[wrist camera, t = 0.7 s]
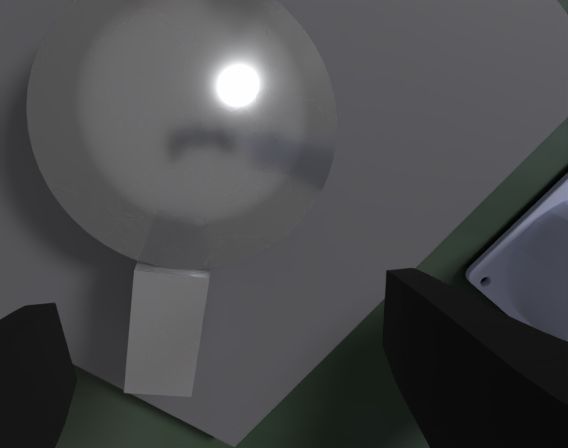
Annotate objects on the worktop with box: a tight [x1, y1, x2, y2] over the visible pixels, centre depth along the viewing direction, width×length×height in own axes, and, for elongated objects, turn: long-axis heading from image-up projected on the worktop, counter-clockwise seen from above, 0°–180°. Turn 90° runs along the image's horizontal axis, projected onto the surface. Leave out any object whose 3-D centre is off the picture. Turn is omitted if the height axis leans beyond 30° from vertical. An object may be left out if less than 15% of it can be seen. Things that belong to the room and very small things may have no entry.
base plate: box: [0, 0, 568, 447], centre depth 17 cm, size 22×23×2 cm
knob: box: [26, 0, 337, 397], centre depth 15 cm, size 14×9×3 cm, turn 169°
